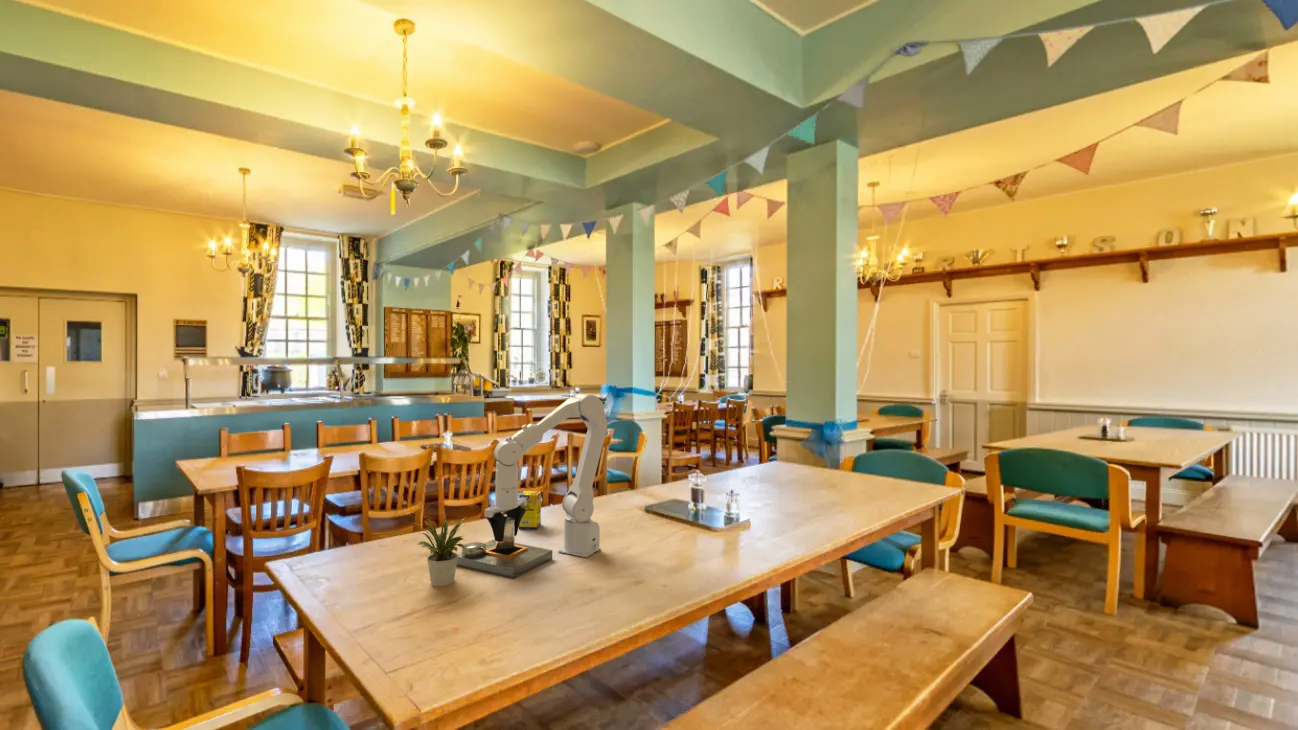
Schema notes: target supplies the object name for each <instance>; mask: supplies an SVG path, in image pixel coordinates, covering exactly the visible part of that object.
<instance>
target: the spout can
mask: <svg viewBox="0 0 1298 730" xmlns="http://www.w3.org/2000/svg"><path fill="white" fill-rule="evenodd" d="M502 514H503V516H505V512H503V513H502ZM515 537H516V536H515V518H513V517H508V518H507V520H506V523H505V527H504V538H503V541H502V542H499V541H495V547H496V548H498V549H508V548H512V547H514V543H515Z"/></svg>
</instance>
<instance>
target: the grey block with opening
mask: <svg viewBox="0 0 1298 730" xmlns="http://www.w3.org/2000/svg"><path fill="white" fill-rule="evenodd" d="M463 545H464V546H465V548H464V549H463V548H462V547H461V552H457V554H458V560H457V566H456V567H459V568H464V569H469V570H474V571H477V572H482V573H487V574H491V575H494V576H495V575H496V576H499V577H504V578H509V579H514V580H515V579H516V578H518V577H520V576H522V575H524V574H526V573H528V572H530V571H531V570H533V569H536V568H537V567H540V566H542V565H544V564H545V563H548V562H549V561H552V560H553V549H548V548H543V547H537V546H532V545H526V544H524V543H523V544H522V543H517V542H514V547H512V548H508V549H498V548H496V547H495V538H494V539H491V540H488V541H487V542H479V541H477V542H476V541H475V542H467V543H465V544H463ZM464 550H465V551H464Z"/></svg>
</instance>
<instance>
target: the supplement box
mask: <svg viewBox="0 0 1298 730" xmlns="http://www.w3.org/2000/svg"><path fill="white" fill-rule="evenodd" d="M518 497H519V498H526V499H527V505H526V506H521V508H525V513H524V515H523V517H522V519H521V522H520V525H519V528H518V530H538V528H539V527H540V526H541V524H542V521H541V520H542V518H541V517H542V490H538V491H537V490H524V491H522V492H521V493H520V494H519V495H518Z"/></svg>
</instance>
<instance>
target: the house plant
mask: <svg viewBox="0 0 1298 730" xmlns="http://www.w3.org/2000/svg"><path fill="white" fill-rule="evenodd" d="M446 517H447V514H445V515H444V517H443V520H442V522H441V523H442V525H441V530H440V531H441V532H440V533H439V534H438V532H437V530H436V529H437V528H436V526H435V524H434V522H433V520H430V519H429V518H427V521H426V520H424V524H425V525H426V526H427V528H423V526H422V525H421V524H419V523H415V522H413V524H416V525H418V526H420V527H421V528H422V531H425V532H426V533H425V532H420V533H418V535H419V534H423V535H424V536H425V537H426V538H427V539H428V541H429V542H430V543H429V542H427V541H423V540H422V541H419V542H418V543H417V545H418V546H419V545H421V546H420V548H422V549H424V548H427V549H429V550H430V554H429V555H427V557H426V560H427V566H428V572H429V578H430V584H431V585H432V586H433V587H445V586H449V585H451V584H453V583H454V581H455V577H456V570H457V567H458V566H457V560H458V547H460V548H461V549H462V548H463V549H464V548H465V546H464V544H463V543H459V542H461V541H462V540H465V539H464V538H463V537H464V535H460V536H455V535H456V533H457V532H458V531H459V530H460V529H461V528H462V527H465V526H467V525H469V524H464V525H462V526H461V524H462V523H463V521H465V519H467V516H466V517H463V518H461V519H460V520H459V521H458V522H457V523H456V524H455V526H454V527H453V528H452V529H451V530H450V531H449V527H448V526H450V524H452V522H453V520H452V521H450V522H449V523H448V521H447V518H446ZM428 521H429V522H430V523H431V524H432V525H431V524H430V523H429V522H428ZM448 532H449V533H448ZM429 533H430V534H431V535H432V536H431V535H430V534H429ZM447 535H448V536H447ZM432 537H433V538H434V539H433V538H432ZM457 546H458V547H457ZM453 550H454V551H453ZM464 551H465V550H464Z"/></svg>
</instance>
